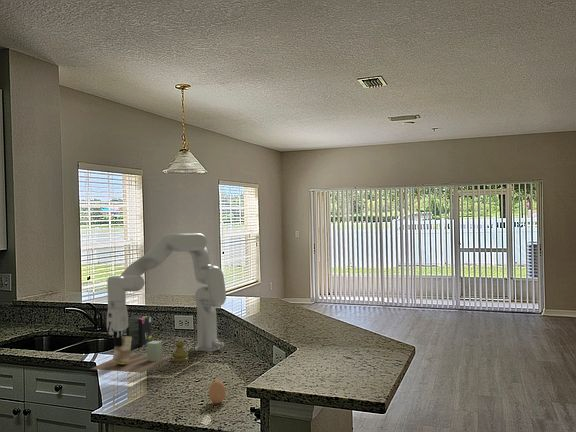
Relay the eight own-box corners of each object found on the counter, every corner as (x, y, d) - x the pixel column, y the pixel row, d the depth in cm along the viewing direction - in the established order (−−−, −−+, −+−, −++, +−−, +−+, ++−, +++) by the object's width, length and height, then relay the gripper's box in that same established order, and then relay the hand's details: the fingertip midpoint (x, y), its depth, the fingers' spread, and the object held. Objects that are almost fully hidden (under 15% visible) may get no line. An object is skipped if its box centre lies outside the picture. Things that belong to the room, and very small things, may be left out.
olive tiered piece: (184, 365, 239) (184, 343, 239) (169, 364, 240) (169, 342, 240) (191, 361, 246) (190, 339, 246) (176, 360, 247) (175, 338, 248)
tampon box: (142, 348, 273) (142, 319, 273) (126, 347, 275) (125, 319, 275) (152, 343, 284) (151, 315, 284) (136, 342, 285) (135, 315, 285)
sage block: (162, 358, 246) (162, 341, 246) (156, 361, 242) (156, 343, 242) (152, 357, 248) (152, 340, 248) (147, 360, 243) (146, 343, 243)
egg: (226, 400, 192) (226, 377, 192) (225, 405, 186) (224, 383, 186) (209, 400, 191) (209, 378, 192) (207, 406, 185) (207, 383, 186)
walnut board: (175, 358, 251) (175, 356, 251) (142, 375, 224) (142, 372, 224) (127, 355, 258) (127, 352, 258) (89, 371, 231) (89, 368, 231)
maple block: (128, 364, 238) (132, 336, 241) (122, 364, 233) (125, 336, 236) (118, 363, 239) (122, 336, 242) (112, 363, 235) (115, 335, 238)
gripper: (113, 307, 226) (114, 350, 226) (133, 301, 241) (134, 342, 240) (98, 306, 228) (99, 349, 228) (119, 301, 243) (120, 341, 243)
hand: (117, 346), depth 234 cm, fingers closed
